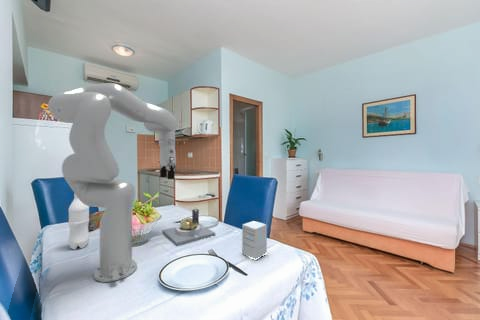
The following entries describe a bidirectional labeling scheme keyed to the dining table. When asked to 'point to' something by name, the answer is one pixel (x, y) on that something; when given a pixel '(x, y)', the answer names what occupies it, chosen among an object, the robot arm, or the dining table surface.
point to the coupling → (191, 221)
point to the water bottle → (78, 224)
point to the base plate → (186, 238)
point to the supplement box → (254, 239)
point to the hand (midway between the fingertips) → (167, 178)
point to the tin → (95, 220)
